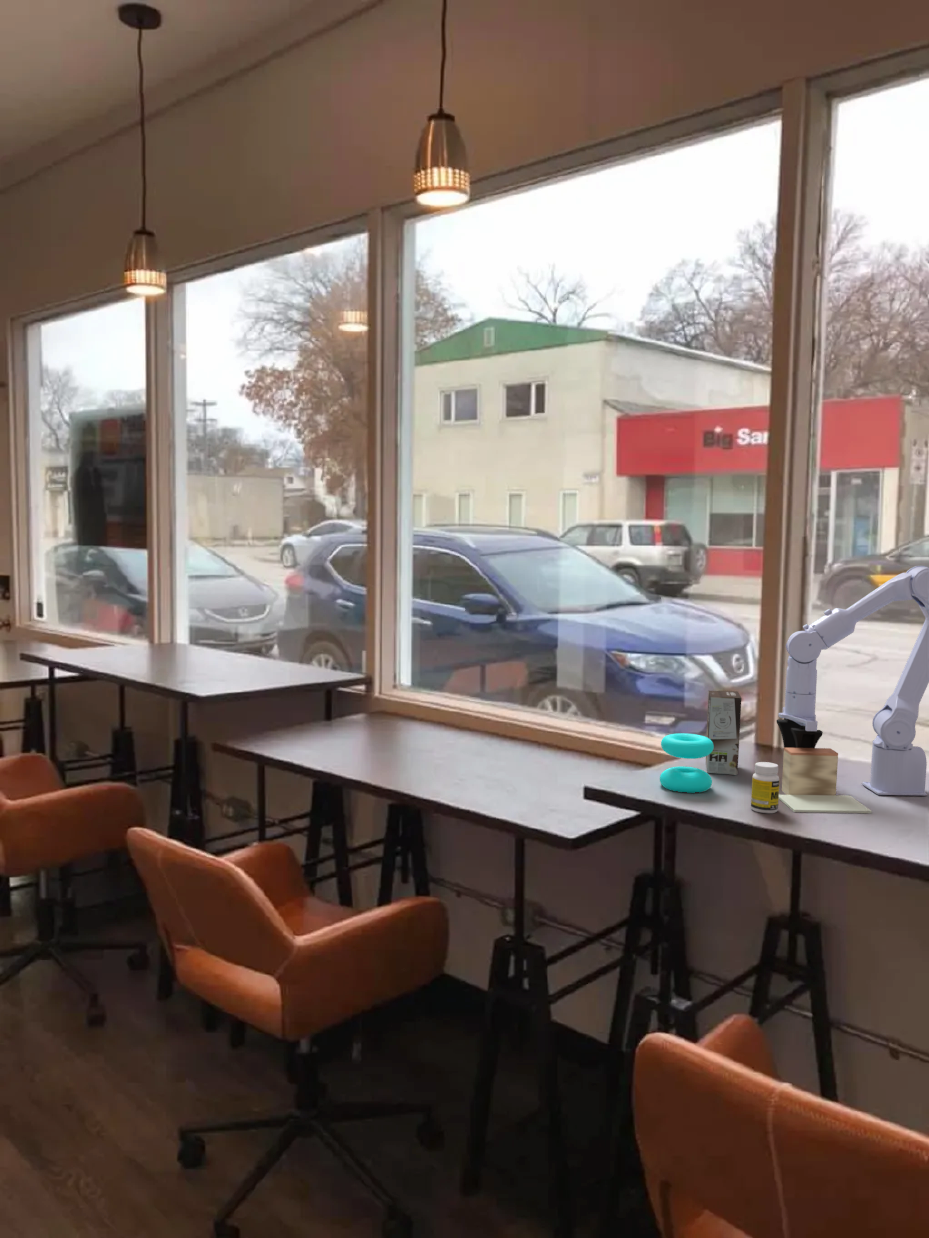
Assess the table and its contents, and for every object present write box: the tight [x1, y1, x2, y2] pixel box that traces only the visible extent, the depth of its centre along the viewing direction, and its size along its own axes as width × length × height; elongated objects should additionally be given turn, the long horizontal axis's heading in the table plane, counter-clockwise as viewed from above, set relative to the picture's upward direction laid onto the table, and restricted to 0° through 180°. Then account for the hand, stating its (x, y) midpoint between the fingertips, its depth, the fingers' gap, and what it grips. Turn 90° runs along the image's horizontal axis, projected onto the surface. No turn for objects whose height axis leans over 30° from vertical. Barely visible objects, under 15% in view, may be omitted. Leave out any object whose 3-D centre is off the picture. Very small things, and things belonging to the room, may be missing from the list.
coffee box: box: [705, 690, 742, 776], centre depth 208 cm, size 9×6×16 cm
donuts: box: [659, 732, 714, 794], centre depth 193 cm, size 10×10×10 cm
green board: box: [778, 794, 873, 814], centre depth 183 cm, size 14×10×1 cm
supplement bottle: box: [750, 761, 780, 814], centre depth 179 cm, size 5×5×8 cm
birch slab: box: [781, 747, 839, 795], centre depth 190 cm, size 9×4×8 cm, turn 90°
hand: (797, 759), depth 197 cm, fingers open, 7 cm apart
